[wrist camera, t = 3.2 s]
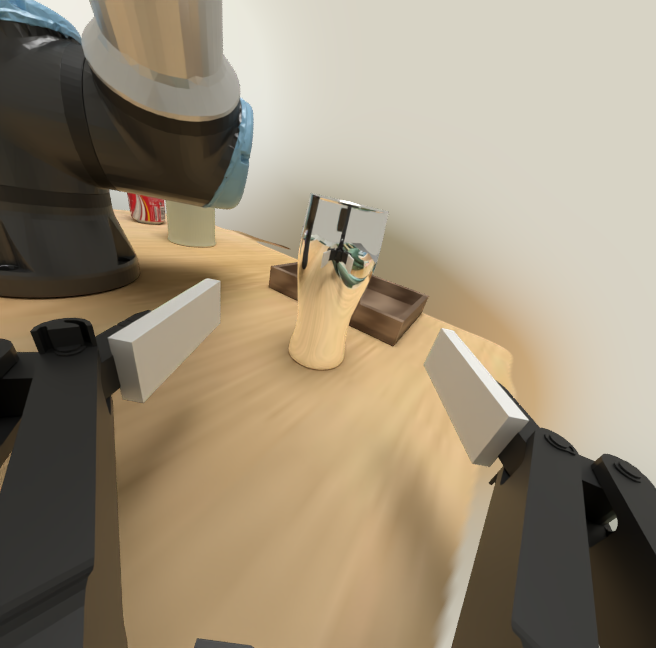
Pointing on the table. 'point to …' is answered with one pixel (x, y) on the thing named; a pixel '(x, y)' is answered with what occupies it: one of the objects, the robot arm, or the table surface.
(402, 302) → the walnut tray
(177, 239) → the can
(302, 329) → the beer glass
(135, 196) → the soda can
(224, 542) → the table surface
